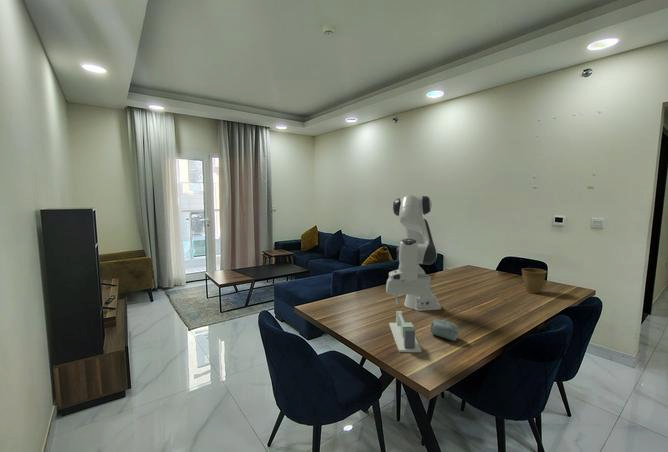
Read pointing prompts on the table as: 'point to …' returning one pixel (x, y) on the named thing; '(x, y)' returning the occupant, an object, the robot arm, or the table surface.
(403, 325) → the sleeve
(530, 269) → the plant pot
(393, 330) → the stand
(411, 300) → the robot arm
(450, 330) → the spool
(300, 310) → the table surface
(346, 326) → the table surface
